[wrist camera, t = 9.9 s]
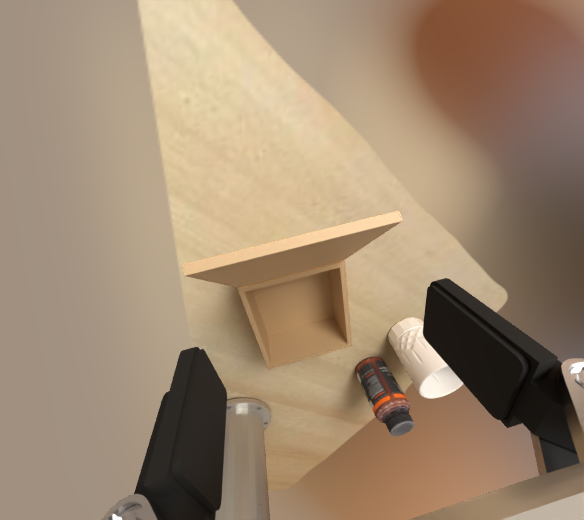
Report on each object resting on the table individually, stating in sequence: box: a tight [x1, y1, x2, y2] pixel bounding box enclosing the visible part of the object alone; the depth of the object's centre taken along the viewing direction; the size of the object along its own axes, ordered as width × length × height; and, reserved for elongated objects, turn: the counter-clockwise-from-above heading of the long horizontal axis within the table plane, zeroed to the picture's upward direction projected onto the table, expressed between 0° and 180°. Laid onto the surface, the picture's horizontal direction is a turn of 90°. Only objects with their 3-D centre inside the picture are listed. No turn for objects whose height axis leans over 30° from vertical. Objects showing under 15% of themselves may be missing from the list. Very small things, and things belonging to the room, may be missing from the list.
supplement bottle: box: [356, 357, 414, 436], centre depth 42 cm, size 6×6×11 cm
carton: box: [237, 260, 352, 370], centre depth 32 cm, size 14×12×6 cm
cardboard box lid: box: [182, 211, 403, 287], centre depth 19 cm, size 14×12×1 cm
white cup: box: [388, 317, 464, 398], centre depth 39 cm, size 8×8×10 cm
